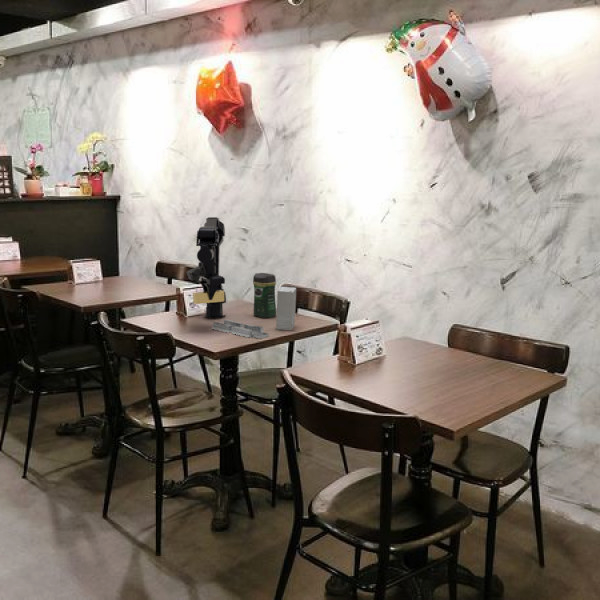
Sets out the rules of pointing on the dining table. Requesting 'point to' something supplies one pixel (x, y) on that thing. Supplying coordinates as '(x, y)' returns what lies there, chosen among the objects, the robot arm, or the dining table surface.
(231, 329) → the chain ends
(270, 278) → the coffee jar
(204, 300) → the master link bar
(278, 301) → the skincare box
